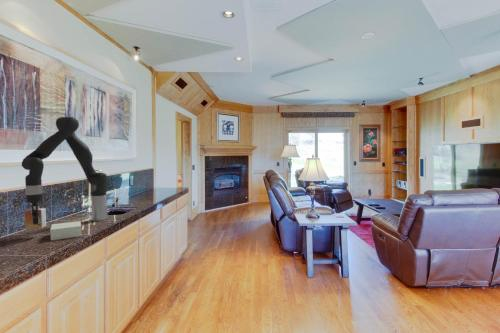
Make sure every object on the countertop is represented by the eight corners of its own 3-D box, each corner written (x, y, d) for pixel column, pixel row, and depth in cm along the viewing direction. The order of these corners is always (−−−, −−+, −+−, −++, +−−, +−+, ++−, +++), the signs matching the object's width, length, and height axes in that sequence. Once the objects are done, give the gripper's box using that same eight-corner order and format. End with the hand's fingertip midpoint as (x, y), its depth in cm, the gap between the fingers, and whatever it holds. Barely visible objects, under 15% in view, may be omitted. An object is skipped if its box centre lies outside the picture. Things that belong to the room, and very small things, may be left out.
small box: (25, 229, 149) (23, 210, 148) (30, 227, 154) (29, 208, 153) (42, 228, 151) (41, 209, 150) (46, 225, 156) (45, 207, 155)
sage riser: (80, 230, 165) (80, 221, 164) (81, 236, 153) (81, 226, 153) (52, 234, 157) (52, 224, 157) (50, 240, 145) (50, 229, 145)
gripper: (42, 194, 148) (44, 224, 149) (42, 191, 159) (44, 219, 160) (24, 195, 143) (26, 226, 144) (26, 192, 155) (27, 221, 156)
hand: (35, 222), depth 152 cm, fingers closed on small box, 7 cm apart
